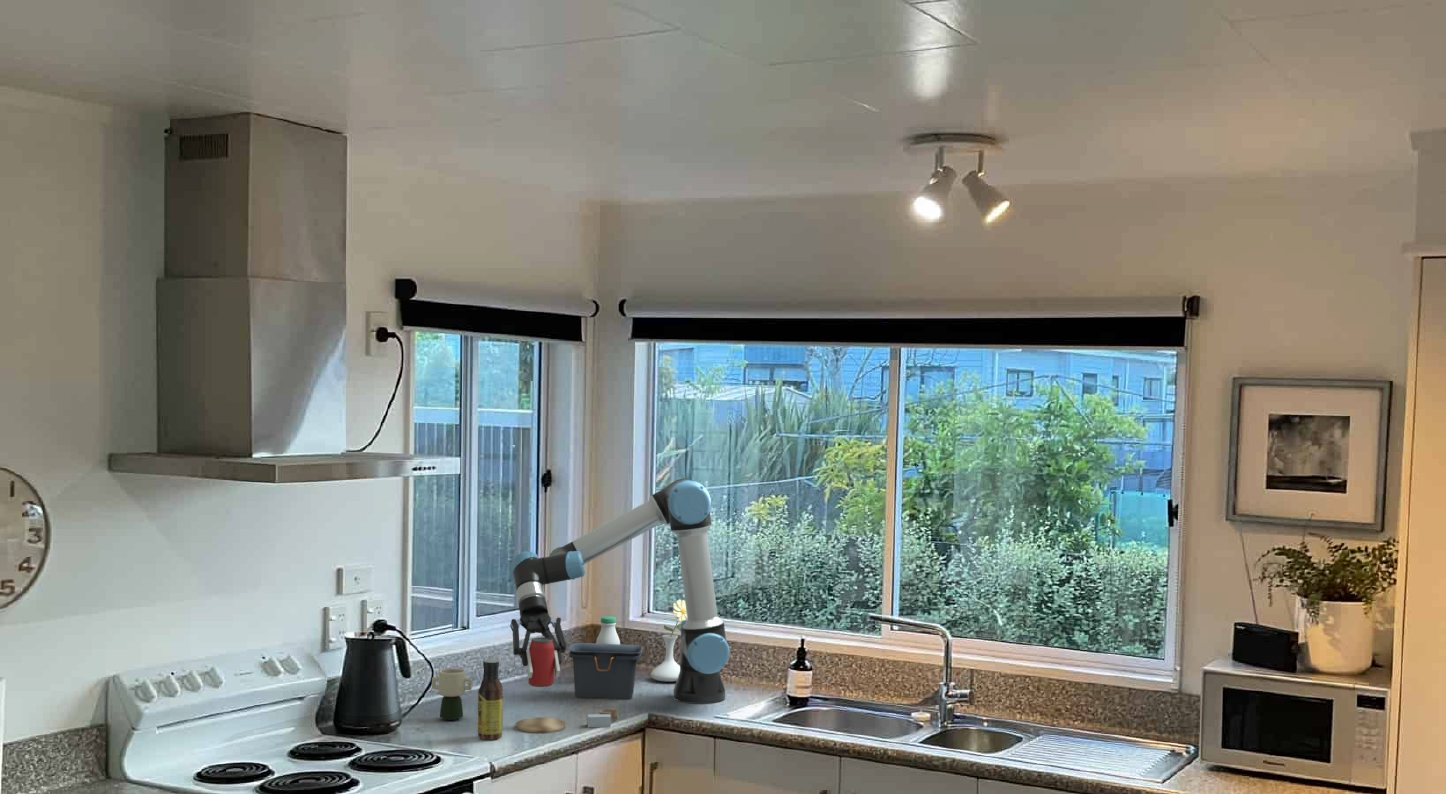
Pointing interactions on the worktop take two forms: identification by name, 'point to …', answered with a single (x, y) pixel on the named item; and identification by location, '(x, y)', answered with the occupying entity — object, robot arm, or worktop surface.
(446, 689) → the character mug
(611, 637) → the milk bottle
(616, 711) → the walnut block
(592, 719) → the grey-blue block
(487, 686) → the sauce bottle
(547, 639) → the beer can
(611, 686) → the storage bin
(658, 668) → the flower in vase
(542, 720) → the trivet
